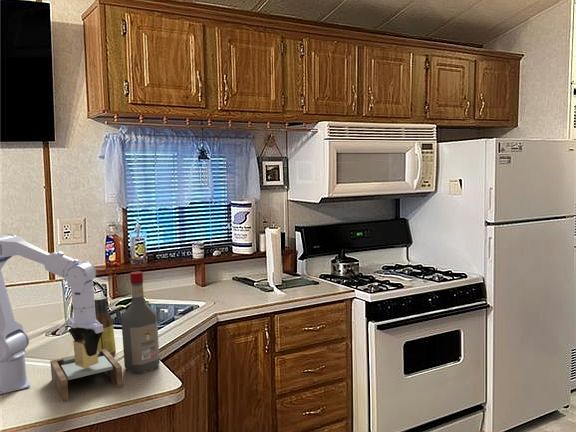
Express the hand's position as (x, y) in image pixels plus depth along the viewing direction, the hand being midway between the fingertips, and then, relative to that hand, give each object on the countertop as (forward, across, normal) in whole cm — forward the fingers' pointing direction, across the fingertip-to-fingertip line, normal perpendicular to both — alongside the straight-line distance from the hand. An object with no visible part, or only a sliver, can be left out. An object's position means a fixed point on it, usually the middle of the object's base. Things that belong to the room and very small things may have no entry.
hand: (87, 353), depth 147 cm
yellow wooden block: (+3, 0, 0) cm, 3 cm away
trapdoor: (+6, -4, +1) cm, 8 cm away
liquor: (+11, 0, +18) cm, 21 cm away
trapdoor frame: (+10, -4, +1) cm, 11 cm away
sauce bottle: (+11, -19, +17) cm, 28 cm away
